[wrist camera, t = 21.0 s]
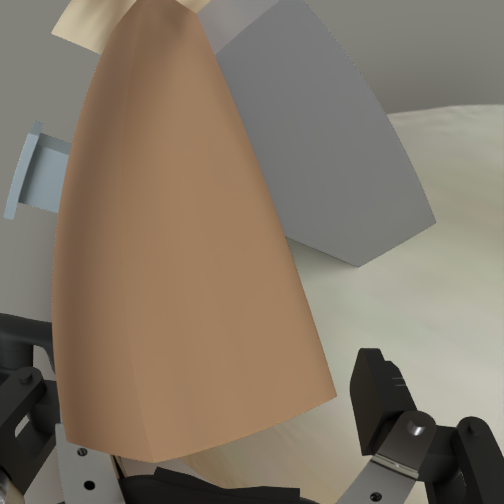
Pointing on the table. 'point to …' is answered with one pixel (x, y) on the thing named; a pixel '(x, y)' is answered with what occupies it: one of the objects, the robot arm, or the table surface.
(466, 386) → the table surface
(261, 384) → the brown wooden bar
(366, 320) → the table surface
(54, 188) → the tall plinth
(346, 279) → the table surface
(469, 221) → the table surface
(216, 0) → the grey tall block
